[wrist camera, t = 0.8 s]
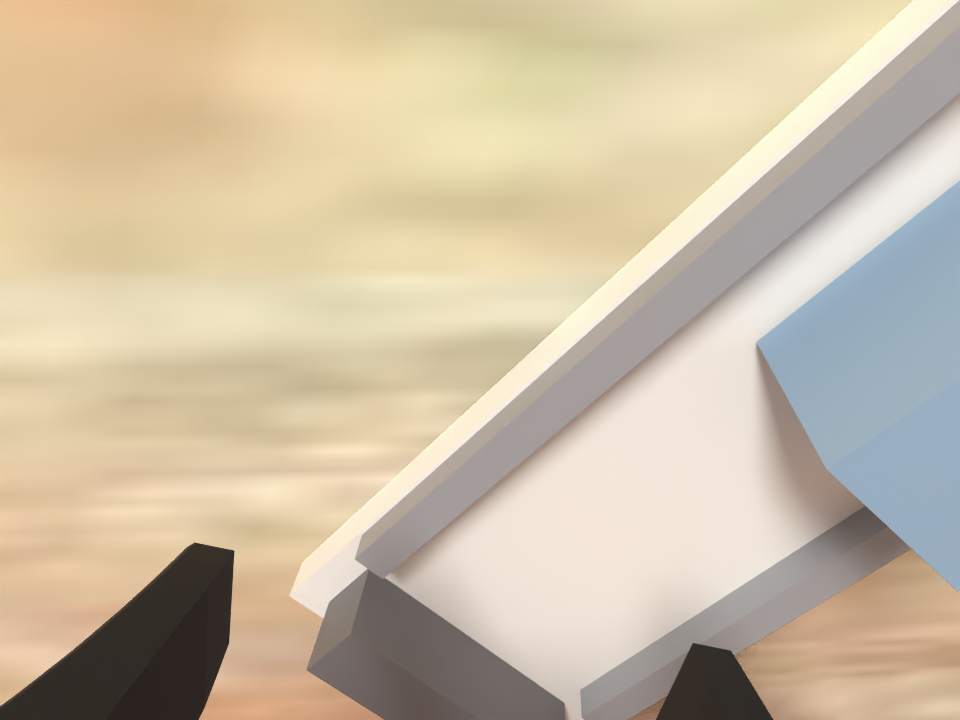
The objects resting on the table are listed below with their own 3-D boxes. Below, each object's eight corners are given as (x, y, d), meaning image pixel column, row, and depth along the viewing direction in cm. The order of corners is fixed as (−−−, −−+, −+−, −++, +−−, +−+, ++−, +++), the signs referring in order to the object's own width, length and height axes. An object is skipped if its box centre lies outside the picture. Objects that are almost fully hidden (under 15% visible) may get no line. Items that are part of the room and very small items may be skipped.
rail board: (1203, 276, 18) (1364, 354, 14) (529, 715, 27) (527, 828, 24) (960, -44, 15) (1085, -44, 12) (303, 561, 24) (262, 663, 21)
